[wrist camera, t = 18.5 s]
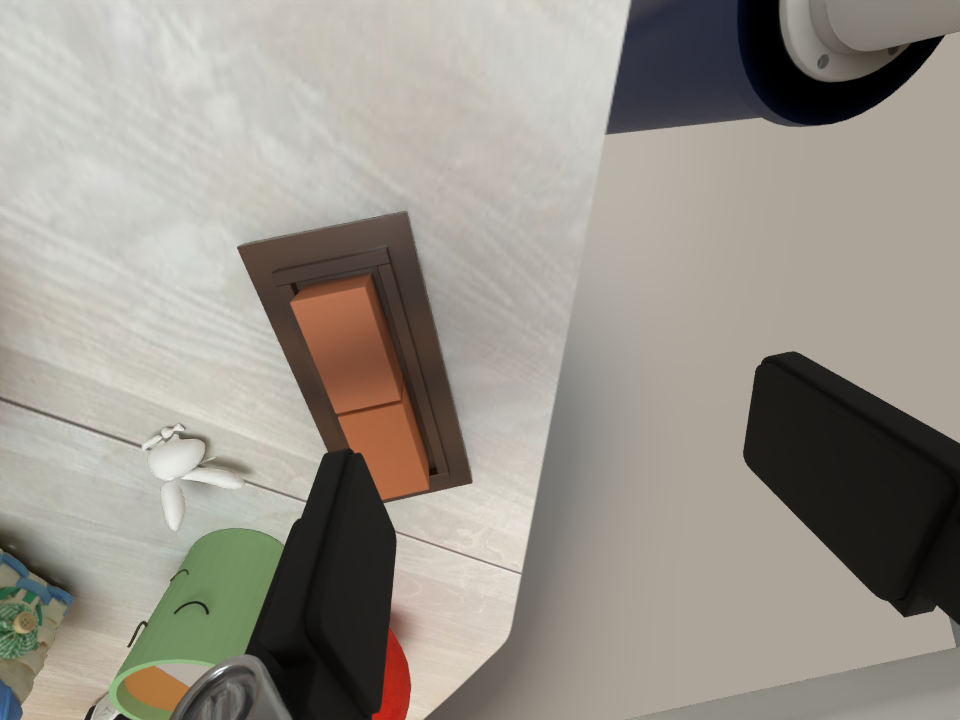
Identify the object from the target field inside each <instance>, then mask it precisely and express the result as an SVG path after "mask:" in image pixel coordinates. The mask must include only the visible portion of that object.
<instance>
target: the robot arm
mask: <svg viewBox="0 0 960 720" xmlns="http://www.w3.org/2000/svg"><path fill="white" fill-rule="evenodd" d="M777 18H778V25H779V32H780V38H781V41H782V44H783V46H784V49H785V52H786V54H787V55H788V57H789V59H790V60H791V62H792V64H793V65H794V66H795V67H796V68H797V69H798V70H799V71H800V72H801V73H803V74H804V75H806V76H808V77H810V78H812V79H814V80H817V81H822V82H828V83H829V82H842V81H847V80H852V79H856V78H861V77H863V76H865V75H868V74H870V73H872V72H875V71H877V70H878V69H880V68H881V67H883V66H885V65H886V64H888V63H889V62H891V61H892V60H893V59H894V58H896V57H897V56H898V55H899V54H900V53H901V52H903V51H904V50H905V49H906V48H907V47H908V46H909V45H910V44H911V43H912V42H916V41H920V40H924V39H929V38H933V37H937V36H942V35H946V34H950V33H955V32H959V31H960V0H778V16H777ZM743 456H744V459H745V462H746V464H747V466H748V467H749V468H750V469H751V470H752V471H753V472H754V473H755V474H756V475H757V476H758V477H759V478H760V479H761V480H762V481H763V482H764V483H765V484H766V485H767V486H768V487H769V488H770V489H771V490H772V492H773V493H774V494H776V495H777V496H778V497H779V499H780V500H781V501H783V503H784V504H785V505H786V506H787V507H788V508H789V509H790V510H791V511H792V512H793V513H794V514H795V515H796V516H797V517H798V518H799V519H800V520H801V521H802V522H803V523H804V524H805V525H806V526H807V527H808V528H809V529H810V530H811V531H812V532H813V533H814V534H815V535H816V536H817V537H818V538H819V539H820V540H821V541H822V542H823V543H824V544H825V545H826V546H827V547H828V548H829V549H830V550H831V551H832V552H833V553H834V554H835V555H836V556H837V557H838V558H839V559H840V560H841V561H842V562H843V563H844V564H845V565H846V567H848V568H849V570H851V572H852V573H853V574H854V575H855V576H856V577H858V579H859V580H860V581H861V582H862V583H863V584H865V586H866V587H867V588H868V589H869V590H870V591H871V592H872V593H874V594H875V595H876V596H877V597H879V598H880V599H882V600H886V601H888V602H890V603H891V604H892V606H894V608H895V609H897V611H898V612H900V613H901V614H902V615H903V616H904V617H909V616H913V615H918V614H922V613H927V612H931V611H934V609H935V607H936V605H937V606H938V607H939V608H941V609H942V610H943V611H944V612H945V613H946V614H947V615H948V616H949V618H950V623H951V626H952V631H953V635H954V639H955V643H956V648H952V649H947V650H942V651H938V652H933V653H929V654H924V655H919V656H914V657H910V658H905V659H900V660H896V661H891V662H886V663H881V664H877V665H872V666H867V667H863V668H858V669H853V670H849V671H844V672H840V673H835V674H830V675H826V676H821V677H816V678H812V679H807V680H803V681H798V682H794V683H789V684H784V685H780V686H775V687H771V688H766V689H762V690H757V691H752V692H748V693H744V694H739V695H734V696H730V697H725V698H721V699H716V700H712V701H707V702H703V703H698V704H693V705H689V706H684V707H680V708H675V709H671V710H667V711H662V712H657V713H653V714H648V715H644V716H640V717H635V718H630V719H626V720H960V443H958V442H956V441H954V440H952V439H951V438H949V437H947V436H946V435H944V434H942V433H940V432H938V431H937V430H935V429H933V428H931V427H930V426H928V425H926V424H924V423H922V422H921V421H919V420H917V419H915V418H914V417H912V416H910V415H908V414H907V413H905V412H903V411H901V410H899V409H898V408H896V407H894V406H892V405H891V404H889V403H887V402H885V401H883V400H882V399H880V398H878V397H876V396H875V395H873V394H871V393H869V392H867V391H865V390H864V389H862V388H860V387H858V386H857V385H855V384H853V383H851V382H850V381H848V380H846V379H844V378H842V377H841V376H839V375H837V374H835V373H834V372H831V371H830V370H828V369H826V368H825V367H823V366H821V365H819V364H818V363H816V362H814V361H812V360H810V359H809V358H807V357H805V356H803V355H802V354H800V353H797V352H786V353H782V354H777V355H773V356H768V357H766V358H764V359H763V360H762V362H761V365H759V366H758V367H757V368H756V371H755V377H754V384H753V391H752V398H751V404H750V410H749V418H748V424H747V431H746V437H745V444H744V450H743ZM395 556H396V534H395V530H394V527H393V525H392V522H391V520H390V518H389V515H388V513H387V511H386V508H385V506H384V504H383V501H382V499H381V497H380V494H379V492H378V490H377V487H376V485H375V483H374V480H373V478H372V476H371V473H370V471H369V469H368V466H367V464H366V462H365V459H364V457H363V455H362V454H361V453H360V452H358V453H354V451H353V450H352V449H351V448H347V449H342V450H338V451H333V452H329V453H326V454H324V456H323V458H322V461H321V463H320V466H319V469H318V472H317V475H316V477H315V480H314V483H313V486H312V489H311V492H310V494H309V497H308V500H307V503H306V506H305V508H304V511H303V514H302V517H301V518H300V519H298V520H297V521H296V522H294V524H293V526H292V528H291V530H290V533H289V536H288V538H287V541H286V544H285V546H284V549H283V552H282V554H281V557H280V560H279V563H278V565H277V568H276V571H275V573H274V576H273V579H272V581H271V584H270V587H269V589H268V592H267V595H266V597H265V600H264V603H263V606H262V608H261V611H260V614H259V616H258V619H257V622H256V624H255V627H254V630H253V632H252V635H251V638H250V640H249V643H248V646H247V649H246V651H245V654H244V655H237V656H233V657H231V658H228V659H226V660H224V661H221V662H219V663H218V664H216V665H215V666H214V667H212V668H211V669H209V670H208V671H207V672H205V673H204V674H203V675H202V676H201V677H200V678H199V679H198V680H197V681H196V682H195V683H194V684H193V685H192V686H191V687H190V688H189V689H188V691H187V692H186V693H185V695H184V696H183V697H182V699H181V700H180V701H179V703H178V704H177V705H176V707H175V709H174V711H173V713H172V715H171V717H170V719H169V720H372V714H376V713H379V711H380V709H381V705H382V698H383V687H384V676H385V665H386V654H387V643H388V632H389V621H390V610H391V599H392V589H393V578H394V567H395Z"/></svg>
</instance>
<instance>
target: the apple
mask: <svg viewBox="0 0 960 720" xmlns="http://www.w3.org/2000/svg"><path fill="white" fill-rule="evenodd" d="M410 692H411V681H410V674H409V668H408V662H407V660H406V657H405V655H404V652H403V650H402V647H401V646H400V644H399V642H398V640H397V639H396V637H395V635H394V633H393V632H392V630H391V629H390V628H389V632H388V643H387V654H386V665H385V676H384V687H383V698H382V705H381V709H380V711H379V713H376V714H372V720H405V718H406V715H407V711H408V708H409V701H410Z"/></svg>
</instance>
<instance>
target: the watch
mask: <svg viewBox="0 0 960 720" xmlns="http://www.w3.org/2000/svg"><path fill="white" fill-rule="evenodd" d="M84 720H132V719H130V718H128V717H126V716H124V715H123V714H121V713H120V712H119V711H118V710H117V709H116V708H115V707H114V706H113V705H112V703H111V702H110V700H109V694H107V695H106V696H105V697H104V698H103V699H102V700H101V701H100V702H99V703H98V704H97V705H95V706H92V707H91V708H90V709H89V711H88V713H87V715H86V717H85V719H84Z"/></svg>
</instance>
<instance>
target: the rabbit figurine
mask: <svg viewBox="0 0 960 720" xmlns="http://www.w3.org/2000/svg"><path fill="white" fill-rule="evenodd" d="M176 430H178V431H184V428H183V427H182V426H181V425H180V424H179V423H177V424H176V426H175V427H174V428H173V429H169V428H164V429H162V430H161V433H162V437H163V438H169V437H170V436H171V435H172V434H173V432H174V431H176ZM162 437H161V436H160V435H157V436H154V437H153V438H151V439H149V440H148V441H146V442H145V443H144V444H143V445H142V450H143V451H145V450H146V449H147V448H148V447H149V446H151V445H153V444H154V443H156V442H158V441H160V440H161V439H162ZM204 453H205V444H204V442H202V441H201V440H198V439H184V440H181V439H179V435H176V434H174V435H173V436H172V438H171V439H170V440H169V441H167V442H164V441H161V442H160V443H158V444H157V445H156V446H155V447H154V448H153V449H151V450H150V452H149V453H148V457H147V461H148V466H149V468H150V470H151V472H152V474H153V475H154V476H156V477H157V478H160V479H162V480H165V481H168V482H166V483H164V485H163V486H162V488H161V492H160V495H161V502H162V507H163V511H164V516H165V519H166V522H167V524H168V526H169V528H170V529H171V530H172V531H177V530H178V529H179V527H180V525H181V523H182V520H183V518H184V515H185V499H184V496H183V493H182V490H181V488H180V486H179V484H178V482H176V481H172V480H173V479H174V478H178V477H180V476H182V478H181V479H186V480H193V481H200V482H205V483H209V484H212V485H215V486H219V487H221V488H225V489H238V488H242V487H243V486H244V484H245V482H244V481H243V479H242V478H241V477H240V476H237V475H235V474H233V473H231V472H229V471H225V470H221V469H214V468H200V469H194V468H195V467H196V466H197V465H198V464H199V463H200V461H201V460H202V458H203V456H204ZM215 457H216V456H214V457H211V458H209V459H207V460H204V461H202V462H201V463H200V465H201V464H203V463H205V462H208V461H210V460H212V459H215ZM192 469H194V470H192Z"/></svg>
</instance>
